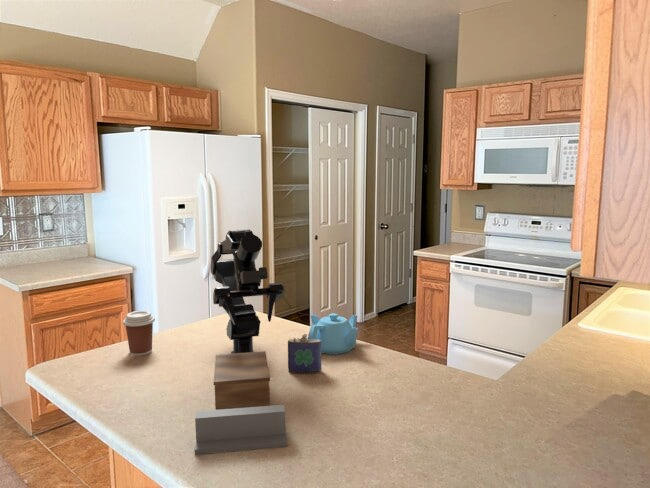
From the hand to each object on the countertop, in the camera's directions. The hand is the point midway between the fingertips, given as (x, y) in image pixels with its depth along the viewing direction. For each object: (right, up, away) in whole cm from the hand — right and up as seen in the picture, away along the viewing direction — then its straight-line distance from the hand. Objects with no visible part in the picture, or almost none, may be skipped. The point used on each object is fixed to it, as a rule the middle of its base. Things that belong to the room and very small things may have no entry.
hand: (252, 323), depth 133 cm
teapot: (+22, -12, +24) cm, 34 cm away
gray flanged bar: (+2, -20, -30) cm, 36 cm away
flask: (+14, -14, +5) cm, 21 cm away
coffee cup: (-37, -12, +21) cm, 44 cm away
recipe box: (-1, -17, -11) cm, 21 cm away
